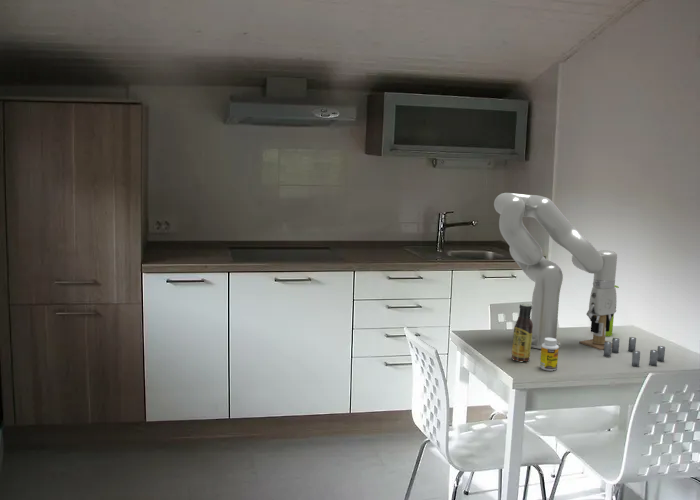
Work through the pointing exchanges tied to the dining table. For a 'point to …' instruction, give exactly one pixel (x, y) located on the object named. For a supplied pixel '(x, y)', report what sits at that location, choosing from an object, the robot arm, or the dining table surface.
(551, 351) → the supplement bottle
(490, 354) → the dining table surface
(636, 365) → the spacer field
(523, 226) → the robot arm
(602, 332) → the sprinkles bottle
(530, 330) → the sauce bottle
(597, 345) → the walnut pad
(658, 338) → the dining table surface
